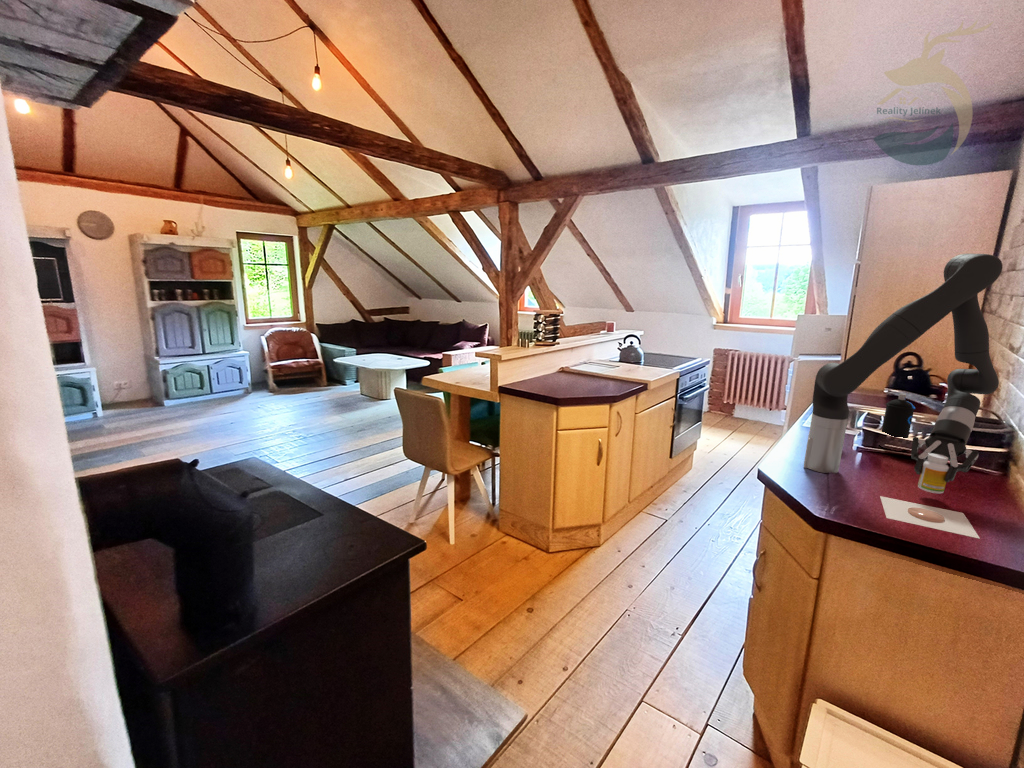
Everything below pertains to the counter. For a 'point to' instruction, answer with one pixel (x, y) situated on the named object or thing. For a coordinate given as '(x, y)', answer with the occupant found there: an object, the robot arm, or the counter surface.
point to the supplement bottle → (934, 474)
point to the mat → (951, 523)
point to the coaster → (926, 514)
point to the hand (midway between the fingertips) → (932, 476)
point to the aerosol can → (898, 417)
